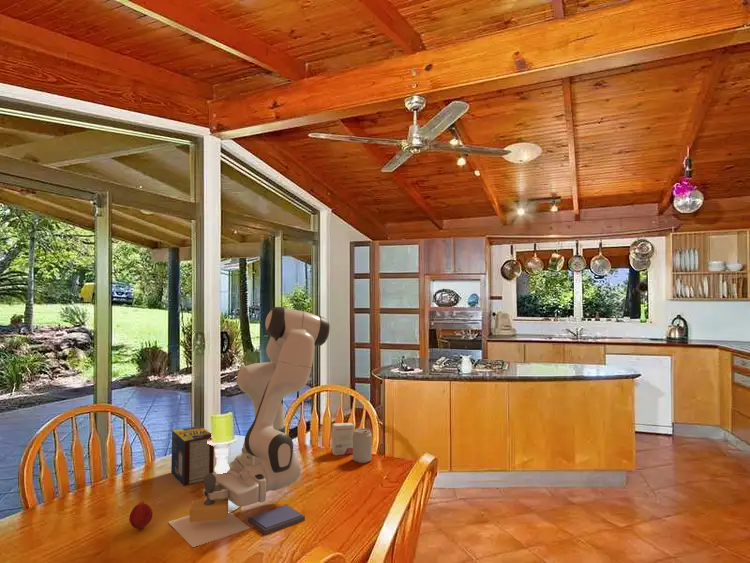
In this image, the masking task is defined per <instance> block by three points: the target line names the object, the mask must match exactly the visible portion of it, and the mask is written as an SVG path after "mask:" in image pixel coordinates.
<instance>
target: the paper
mask: <svg viewBox="0 0 750 563" xmlns="http://www.w3.org/2000/svg"><path fill="white" fill-rule="evenodd" d="M167 523H169V524H170V525H171V526H172V527H173V528H174V529H175V530H176V531H177V532H178V533H179V534H180V535H181V536H182V537H183V538H184V539H185V540H186V541H187V542H188V543H189V544H190V545H191V546H192V547H195V548H197V547H196V546H198V547H200V546H199V545H201V546H203V545H202V544H204V545H206V544H205V543H207V544H209V543H211V541H212V542H215V541H218V540H220V539H223V538H226V537H229V536H233V535H235V534H237V533H240V532H243V531H247V530H250V526H249V525H248V524H246V523H245V522H244V521H242V520H240V518H238V517H237V516H236V515H234V514H233V513H231V512H230V513H228V516H227V519H217V520H207V521H196V522H190V514H189V515H187V516H183V517H179V518H176V519H172V520H170V521H167ZM169 524H168V525H169ZM171 526H170V527H171ZM172 527H171V528H172ZM173 528H172V529H173ZM175 530H174V531H175ZM176 531H175V532H176ZM177 532H176V533H177ZM178 533H177V534H178ZM179 534H178V535H179ZM181 536H180V537H181ZM182 537H181V538H182ZM183 538H182V539H183ZM184 539H183V540H184ZM185 540H184V541H185ZM214 540H215V541H214ZM186 541H185V542H186ZM187 542H186V543H187ZM208 542H209V543H208ZM188 543H187V544H188ZM189 544H188V545H189ZM190 545H189V546H190ZM191 546H190V547H191Z"/></svg>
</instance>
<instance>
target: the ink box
mask: <svg viewBox="0 0 750 563" xmlns="http://www.w3.org/2000/svg"><path fill="white" fill-rule="evenodd" d="M331 431H332V433H331V434H332V435H331V437H332V438H331V439H332V441H331V443H332V444H331V452H332V454H333V455H334V456H341V455H353V433H354V432H355V425H354V423H353V422H337V423H332V430H331Z"/></svg>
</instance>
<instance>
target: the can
mask: <svg viewBox="0 0 750 563" xmlns="http://www.w3.org/2000/svg"><path fill="white" fill-rule="evenodd" d="M372 436H373V433H371V430H370V429H368V428H363V427H362V428H356V429H354V433H353V454H352V459H353V461H354V462H355V463H357V462H358V463H359V464H367V463H369V462H370V461H371V460H372V451H373V450H372V446H373V444H372V442H373V437H372Z"/></svg>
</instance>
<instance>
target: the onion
mask: <svg viewBox="0 0 750 563" xmlns="http://www.w3.org/2000/svg"><path fill="white" fill-rule="evenodd" d="M153 515H154V514H153V509H152V508H151V507H150V505H149V504H147V503H145V500H141V501H140V502H138V504H136V505H135V506H134V507H133V508H132V510H131V512H130V514H129V518H128V519H129V523H130V525H131V526H132V527H133V528H135V529H138V530H140V531H141V530H142V531H143V529H145V528H146V527H147V526H148V525H149V524H150V523H151V521H152V519H153Z"/></svg>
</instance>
